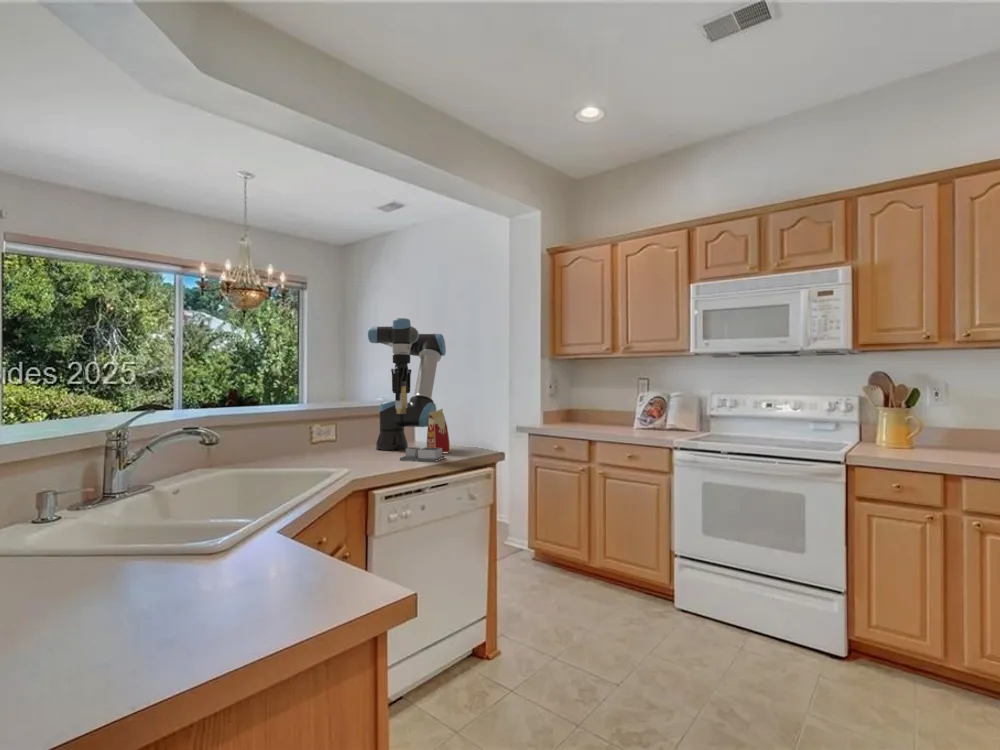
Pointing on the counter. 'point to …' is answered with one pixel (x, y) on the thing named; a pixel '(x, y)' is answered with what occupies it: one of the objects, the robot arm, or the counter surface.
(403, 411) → the brass valve
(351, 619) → the counter surface
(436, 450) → the manifold plate
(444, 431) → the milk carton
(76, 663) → the counter surface
